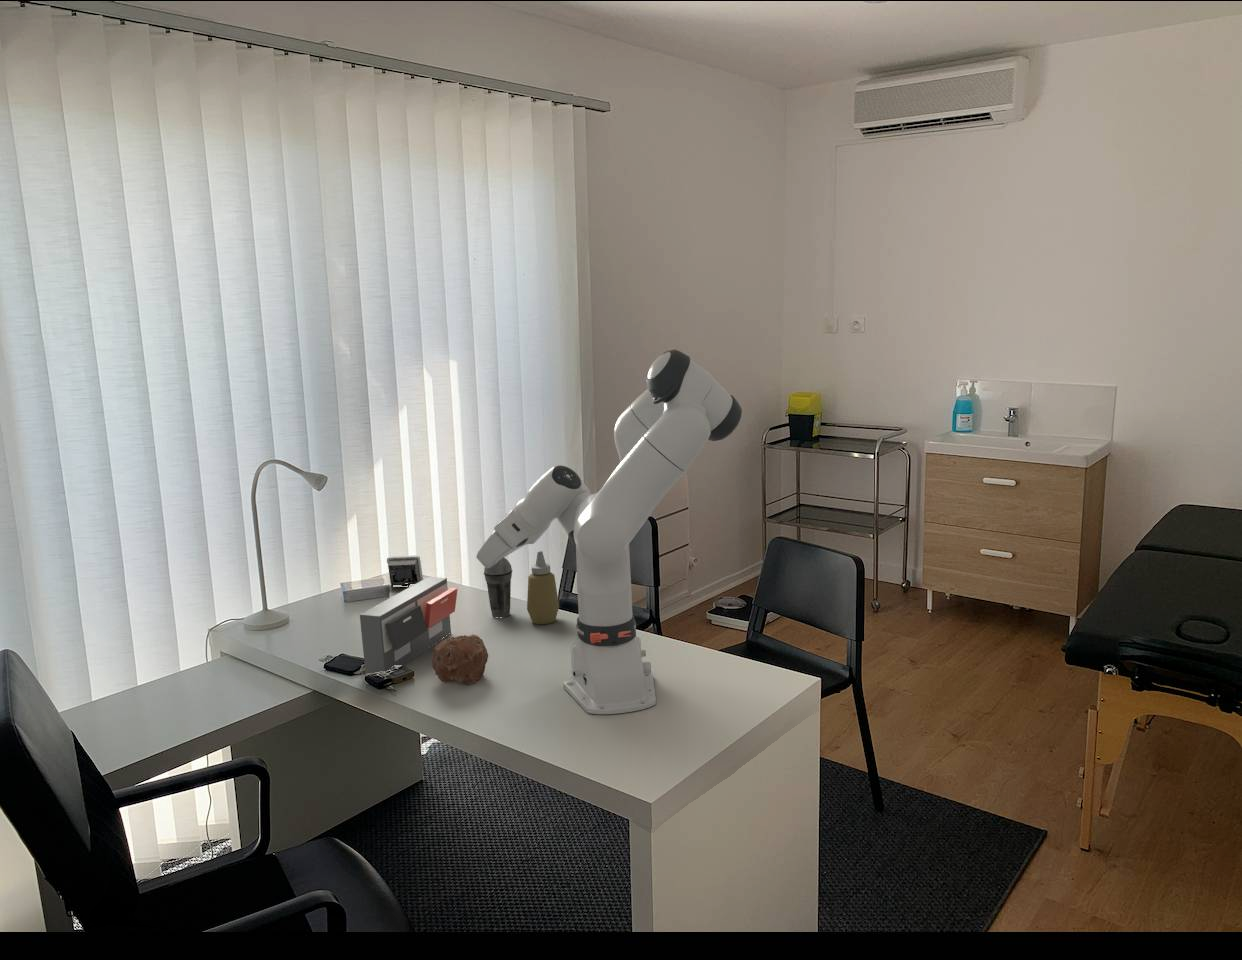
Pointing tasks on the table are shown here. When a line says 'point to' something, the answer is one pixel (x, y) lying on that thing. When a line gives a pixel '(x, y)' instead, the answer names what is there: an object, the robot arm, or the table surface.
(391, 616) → the switch panel
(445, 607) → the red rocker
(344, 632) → the table surface
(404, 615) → the panel
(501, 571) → the beverage cup
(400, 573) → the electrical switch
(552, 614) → the squeeze bottle
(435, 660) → the decorative rock
